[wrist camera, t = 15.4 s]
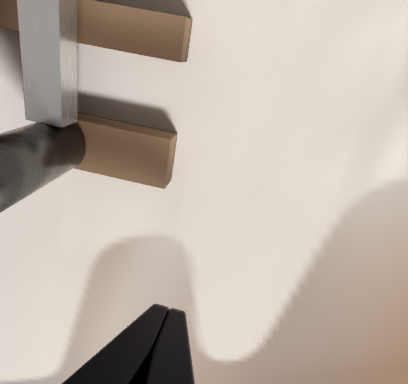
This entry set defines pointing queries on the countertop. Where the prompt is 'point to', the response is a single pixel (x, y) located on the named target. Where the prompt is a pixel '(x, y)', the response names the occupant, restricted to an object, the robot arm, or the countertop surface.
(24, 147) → the bar
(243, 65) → the countertop surface
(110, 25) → the press base
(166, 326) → the robot arm
